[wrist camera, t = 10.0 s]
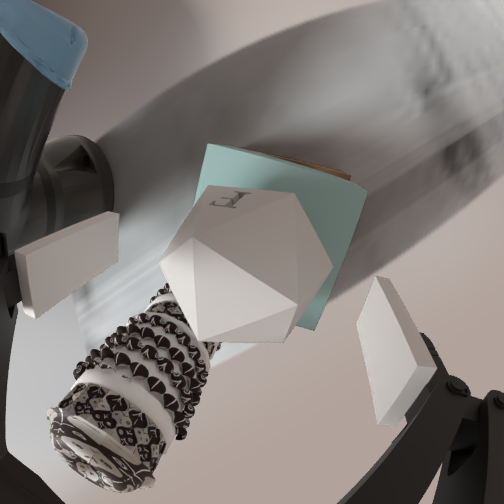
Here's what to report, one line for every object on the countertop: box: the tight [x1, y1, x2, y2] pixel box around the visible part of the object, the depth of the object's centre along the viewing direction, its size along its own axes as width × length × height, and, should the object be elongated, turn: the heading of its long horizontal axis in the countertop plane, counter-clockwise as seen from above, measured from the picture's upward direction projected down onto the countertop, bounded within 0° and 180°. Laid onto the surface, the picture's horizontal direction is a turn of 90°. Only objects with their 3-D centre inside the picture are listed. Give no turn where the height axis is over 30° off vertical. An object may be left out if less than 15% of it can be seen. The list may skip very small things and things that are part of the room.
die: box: [158, 185, 333, 343], centre depth 16 cm, size 8×9×10 cm
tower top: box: [193, 143, 368, 331], centre depth 22 cm, size 10×10×6 cm
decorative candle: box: [46, 283, 223, 493], centre depth 24 cm, size 9×9×25 cm
